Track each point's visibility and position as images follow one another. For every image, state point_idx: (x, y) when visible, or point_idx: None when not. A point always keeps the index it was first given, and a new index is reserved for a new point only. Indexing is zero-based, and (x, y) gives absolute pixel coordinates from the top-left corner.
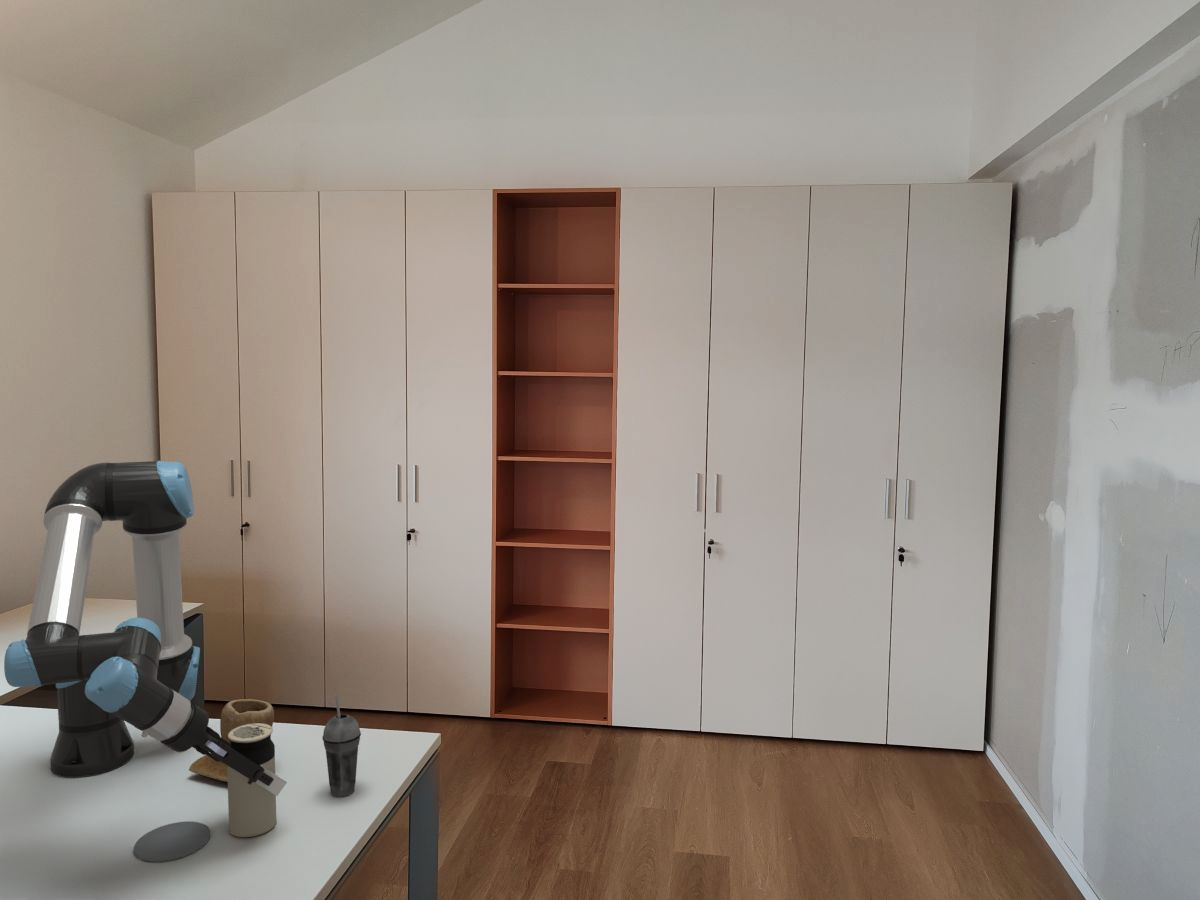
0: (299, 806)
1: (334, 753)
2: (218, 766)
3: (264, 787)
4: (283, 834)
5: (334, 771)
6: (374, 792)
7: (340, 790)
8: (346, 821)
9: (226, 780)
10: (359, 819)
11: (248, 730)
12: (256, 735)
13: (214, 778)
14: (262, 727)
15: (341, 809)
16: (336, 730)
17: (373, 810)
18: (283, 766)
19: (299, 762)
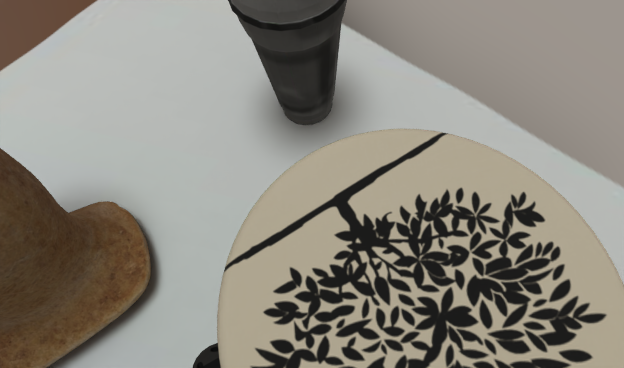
0: None
1: (328, 38)
2: (20, 343)
3: None
4: None
5: (325, 80)
6: (345, 56)
7: (330, 102)
8: (439, 125)
9: (99, 330)
10: (443, 102)
11: (382, 315)
12: (544, 272)
13: (57, 359)
14: (371, 189)
15: (382, 121)
16: None
17: (418, 73)
18: (107, 180)
19: (115, 146)
